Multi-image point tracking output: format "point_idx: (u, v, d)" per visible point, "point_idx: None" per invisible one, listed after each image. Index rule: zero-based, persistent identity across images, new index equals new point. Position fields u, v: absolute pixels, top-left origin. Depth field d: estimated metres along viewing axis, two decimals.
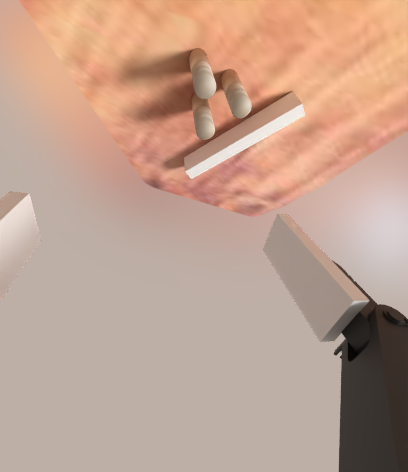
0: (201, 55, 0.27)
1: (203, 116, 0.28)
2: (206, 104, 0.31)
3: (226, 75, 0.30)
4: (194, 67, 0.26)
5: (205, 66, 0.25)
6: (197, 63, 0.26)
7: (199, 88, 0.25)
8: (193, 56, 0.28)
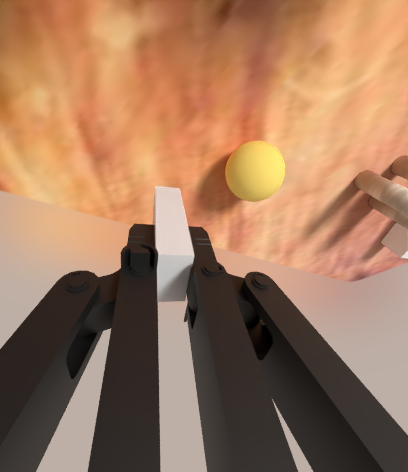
0: (376, 180, 0.27)
1: None
2: None
3: (402, 168, 0.28)
4: (386, 198, 0.26)
5: (402, 192, 0.25)
6: (388, 193, 0.26)
7: None
8: (366, 185, 0.28)
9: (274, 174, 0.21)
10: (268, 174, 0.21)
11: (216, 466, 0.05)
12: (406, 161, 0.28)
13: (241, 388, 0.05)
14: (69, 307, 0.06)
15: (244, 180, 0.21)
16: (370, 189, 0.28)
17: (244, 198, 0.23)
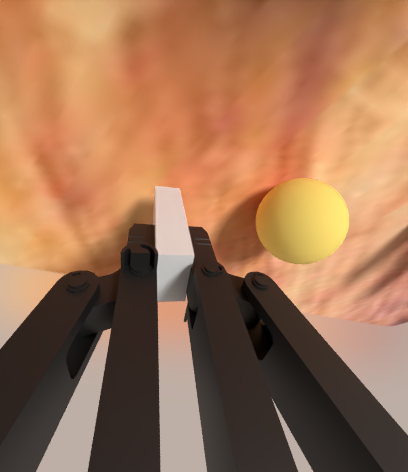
0: None
1: None
2: None
3: None
4: None
5: None
6: None
7: None
8: None
9: (338, 234, 0.13)
10: (329, 235, 0.13)
11: (217, 466, 0.05)
12: None
13: (241, 388, 0.05)
14: (69, 307, 0.06)
15: (291, 242, 0.14)
16: None
17: (285, 261, 0.16)
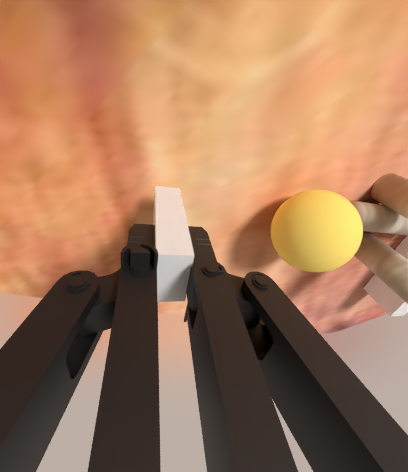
0: (388, 212, 0.18)
1: None
2: (384, 249, 0.18)
3: (387, 194, 0.18)
4: None
5: None
6: None
7: None
8: (380, 223, 0.18)
9: (280, 215, 0.16)
10: (278, 211, 0.16)
11: (216, 466, 0.05)
12: (393, 183, 0.18)
13: (241, 388, 0.05)
14: (69, 307, 0.06)
15: None
16: (387, 226, 0.19)
17: None
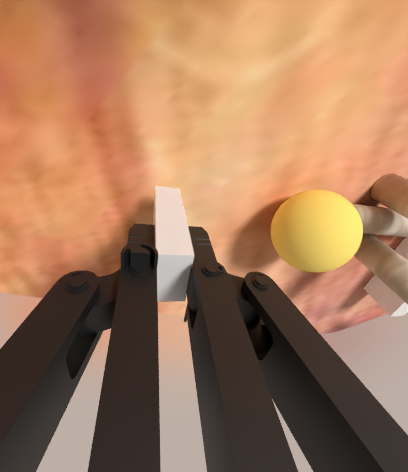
0: (385, 217, 0.19)
1: None
2: (384, 249, 0.18)
3: (387, 194, 0.18)
4: (403, 232, 0.20)
5: None
6: (406, 227, 0.19)
7: None
8: (376, 228, 0.19)
9: (280, 215, 0.16)
10: (278, 211, 0.16)
11: (216, 466, 0.05)
12: (393, 183, 0.18)
13: (241, 388, 0.05)
14: (69, 307, 0.06)
15: None
16: (382, 230, 0.19)
17: None
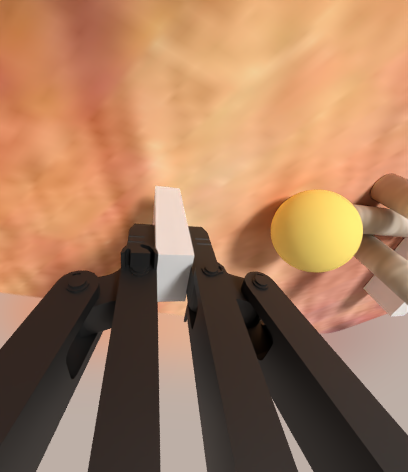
0: (385, 218, 0.19)
1: None
2: (384, 250, 0.18)
3: (387, 194, 0.18)
4: (402, 233, 0.20)
5: None
6: (406, 228, 0.19)
7: None
8: (375, 229, 0.19)
9: (280, 215, 0.16)
10: (278, 211, 0.16)
11: (216, 466, 0.05)
12: (393, 184, 0.18)
13: (241, 388, 0.05)
14: (69, 307, 0.06)
15: None
16: (381, 231, 0.19)
17: None
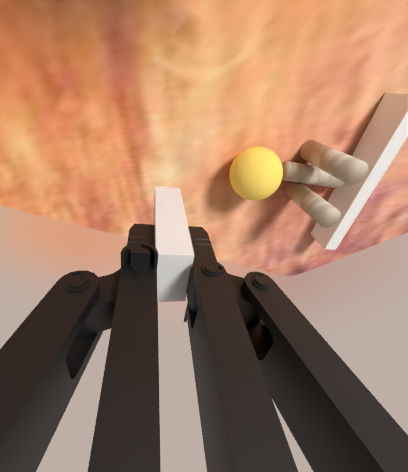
0: (307, 170, 0.28)
1: (317, 208, 0.25)
2: (306, 190, 0.28)
3: (306, 152, 0.27)
4: (321, 181, 0.29)
5: None
6: (323, 178, 0.29)
7: None
8: (301, 177, 0.28)
9: (233, 162, 0.25)
10: None
11: (216, 467, 0.05)
12: (309, 145, 0.27)
13: (241, 388, 0.05)
14: (69, 307, 0.06)
15: None
16: (306, 179, 0.29)
17: None
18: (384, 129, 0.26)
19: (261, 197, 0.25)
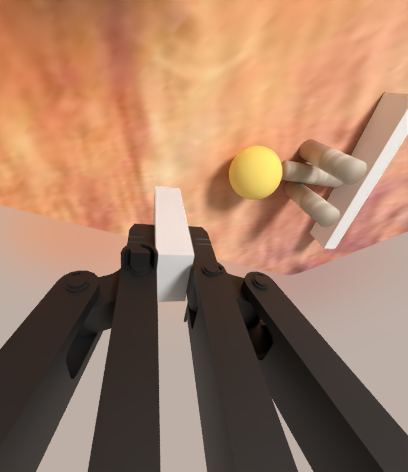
0: (307, 169, 0.28)
1: (316, 207, 0.25)
2: (305, 190, 0.28)
3: (305, 152, 0.27)
4: (321, 181, 0.29)
5: None
6: (322, 177, 0.29)
7: None
8: (300, 177, 0.28)
9: (232, 162, 0.25)
10: None
11: (216, 466, 0.05)
12: (309, 145, 0.27)
13: (241, 388, 0.05)
14: (69, 307, 0.06)
15: None
16: (305, 179, 0.29)
17: None
18: (383, 128, 0.26)
19: (261, 196, 0.25)
